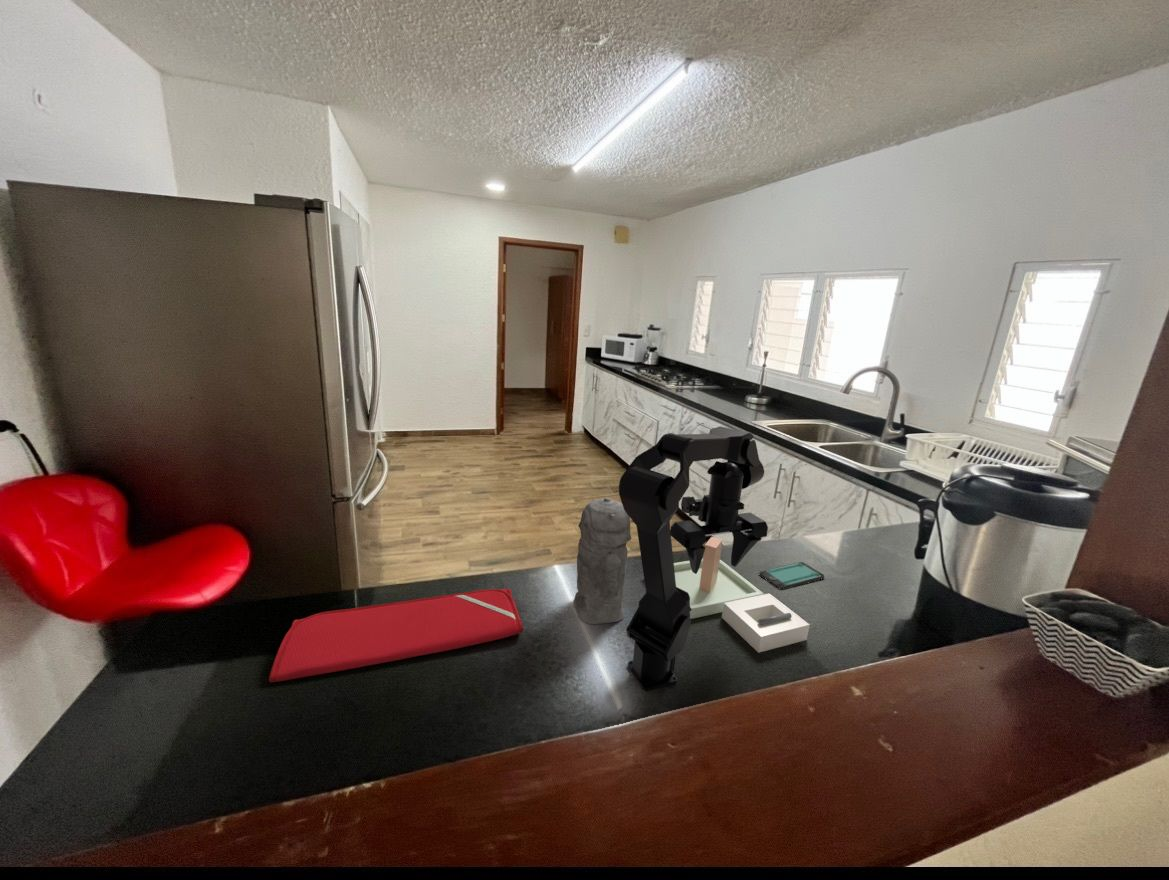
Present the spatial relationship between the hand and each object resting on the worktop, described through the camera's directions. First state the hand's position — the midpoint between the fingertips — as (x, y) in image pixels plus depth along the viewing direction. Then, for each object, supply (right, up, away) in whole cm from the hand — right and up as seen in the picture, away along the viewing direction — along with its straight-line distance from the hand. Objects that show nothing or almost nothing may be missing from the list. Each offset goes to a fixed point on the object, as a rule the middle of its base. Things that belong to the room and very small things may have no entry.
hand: (714, 569), depth 90 cm
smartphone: (+26, -9, +24) cm, 37 cm away
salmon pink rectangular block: (+3, -8, +16) cm, 18 cm away
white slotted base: (+11, -13, +4) cm, 17 cm away
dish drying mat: (-59, -12, -3) cm, 60 cm away
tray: (+2, -9, +16) cm, 19 cm away
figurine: (-23, -10, +7) cm, 26 cm away
